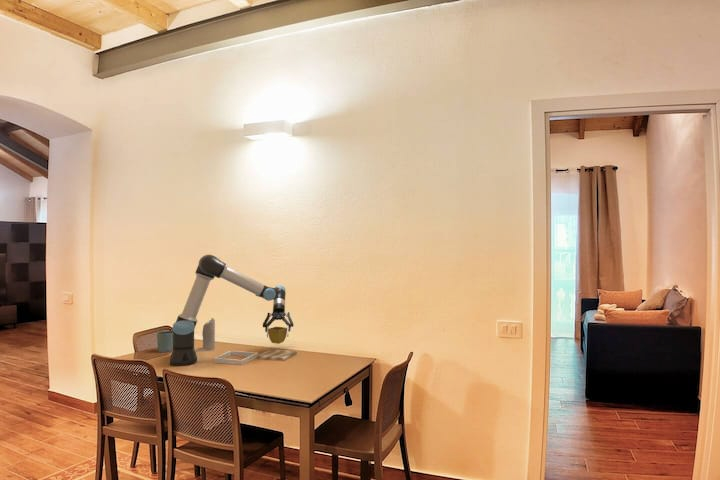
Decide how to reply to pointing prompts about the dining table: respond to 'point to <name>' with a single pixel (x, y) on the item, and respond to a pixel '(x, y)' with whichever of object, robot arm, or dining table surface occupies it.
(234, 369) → the dining table surface
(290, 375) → the dining table surface
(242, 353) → the grey square frame
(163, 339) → the drinking glass
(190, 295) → the robot arm
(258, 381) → the dining table surface
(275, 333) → the flower pot
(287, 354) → the slatted trivet
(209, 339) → the grey upright panel
